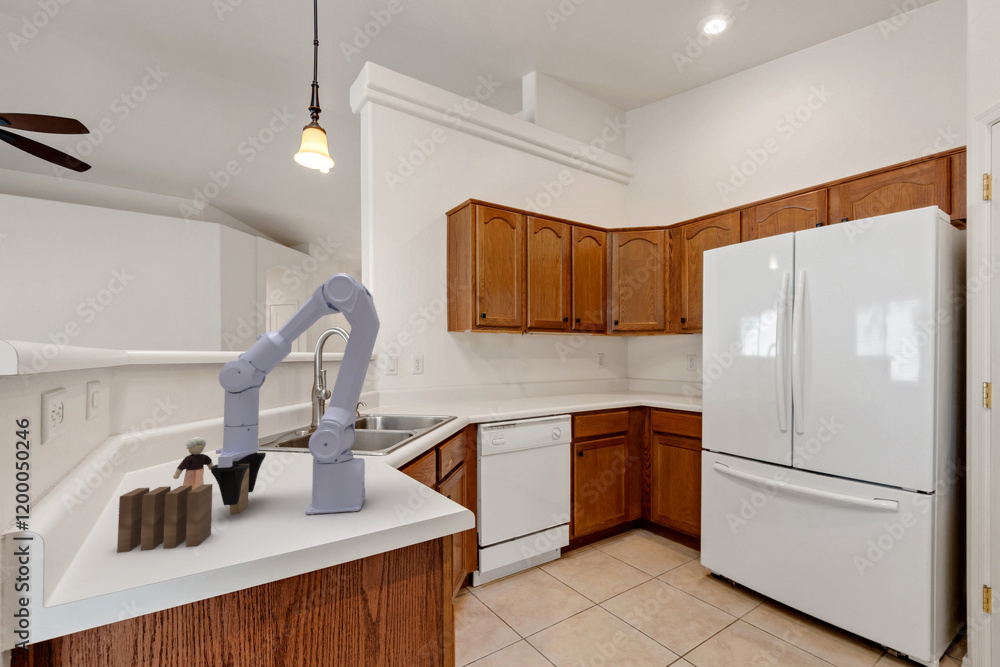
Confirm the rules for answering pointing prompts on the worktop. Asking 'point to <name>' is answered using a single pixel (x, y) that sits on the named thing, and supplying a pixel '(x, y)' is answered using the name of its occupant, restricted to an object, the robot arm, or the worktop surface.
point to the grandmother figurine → (194, 463)
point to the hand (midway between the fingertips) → (239, 498)
